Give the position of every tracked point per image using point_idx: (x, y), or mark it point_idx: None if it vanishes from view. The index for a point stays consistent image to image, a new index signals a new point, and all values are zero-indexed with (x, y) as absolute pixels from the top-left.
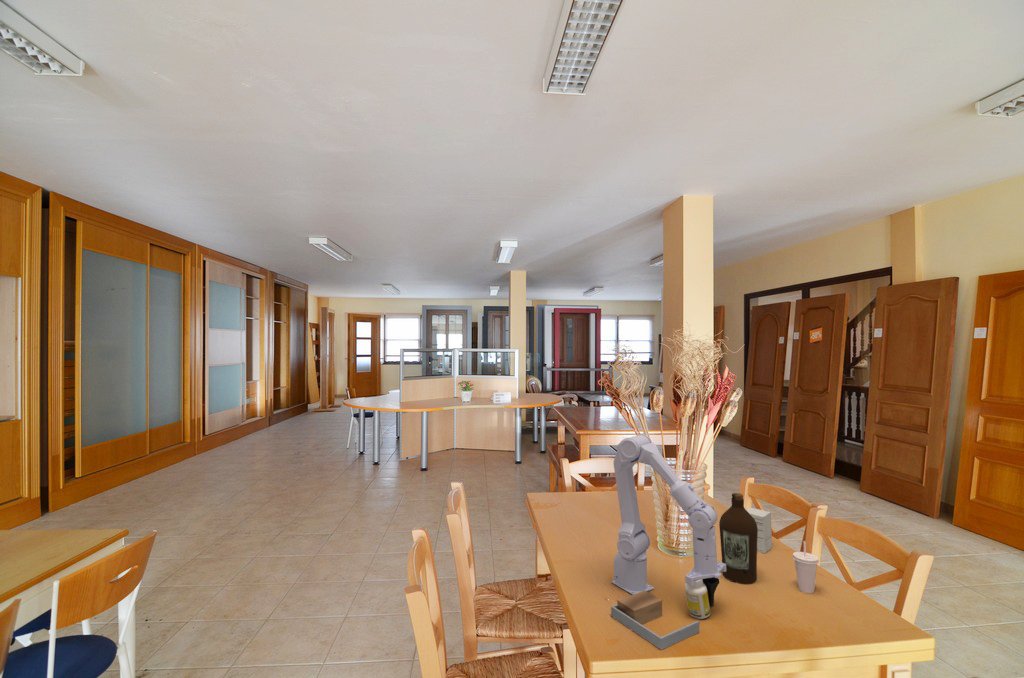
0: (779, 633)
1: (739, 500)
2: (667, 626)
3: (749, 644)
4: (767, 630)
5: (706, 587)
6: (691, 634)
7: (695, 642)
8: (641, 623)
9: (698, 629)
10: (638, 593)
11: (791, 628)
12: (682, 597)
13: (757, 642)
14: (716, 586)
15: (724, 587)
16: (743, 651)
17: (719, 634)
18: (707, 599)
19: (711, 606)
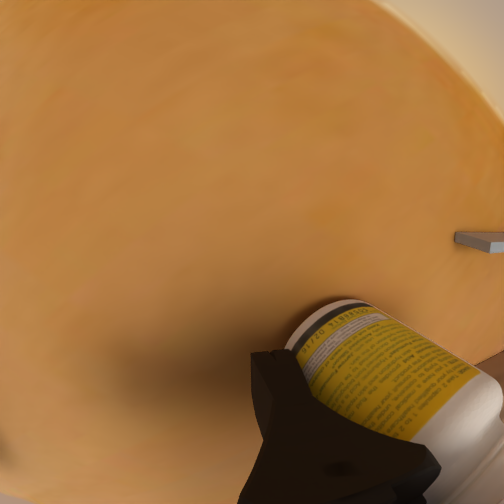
0: (111, 4)
1: None
2: (481, 320)
3: (351, 26)
4: (131, 36)
5: (426, 444)
6: (488, 233)
7: (498, 195)
8: (500, 354)
9: (469, 234)
10: None
11: (29, 27)
12: (254, 461)
13: (300, 7)
14: (281, 461)
15: (19, 414)
16: (413, 33)
17: (409, 161)
18: (401, 359)
19: (272, 351)
